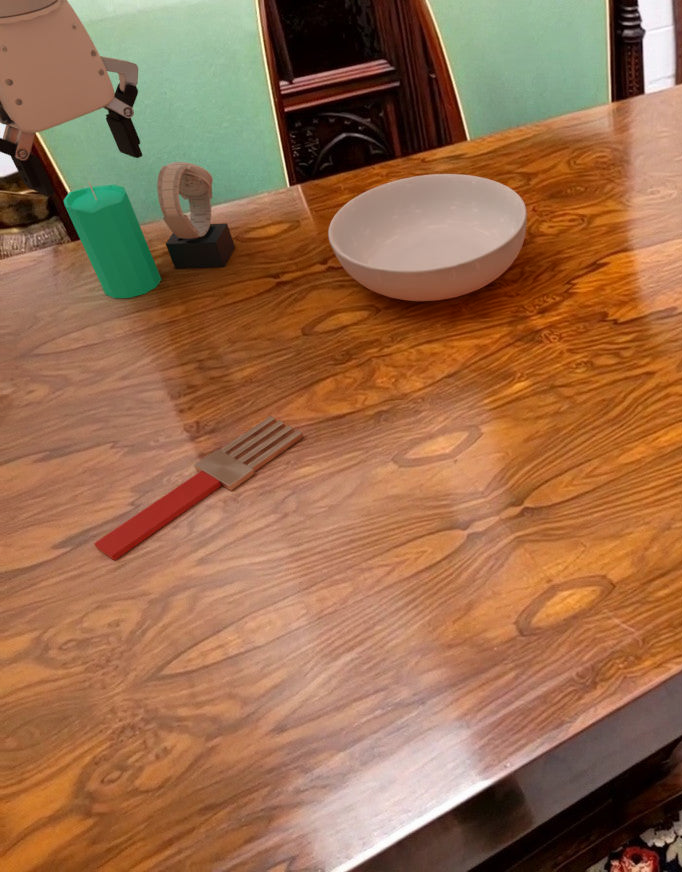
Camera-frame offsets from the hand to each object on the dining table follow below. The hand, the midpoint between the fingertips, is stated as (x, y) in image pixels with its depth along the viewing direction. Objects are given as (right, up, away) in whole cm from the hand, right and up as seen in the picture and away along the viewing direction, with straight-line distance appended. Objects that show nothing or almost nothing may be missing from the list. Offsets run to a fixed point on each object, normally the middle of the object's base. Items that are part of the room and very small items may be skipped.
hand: (89, 172), depth 95 cm
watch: (+6, -6, +13) cm, 15 cm away
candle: (0, -10, +8) cm, 13 cm away
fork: (+19, -31, -16) cm, 40 cm away
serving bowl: (+33, -9, +9) cm, 36 cm away
